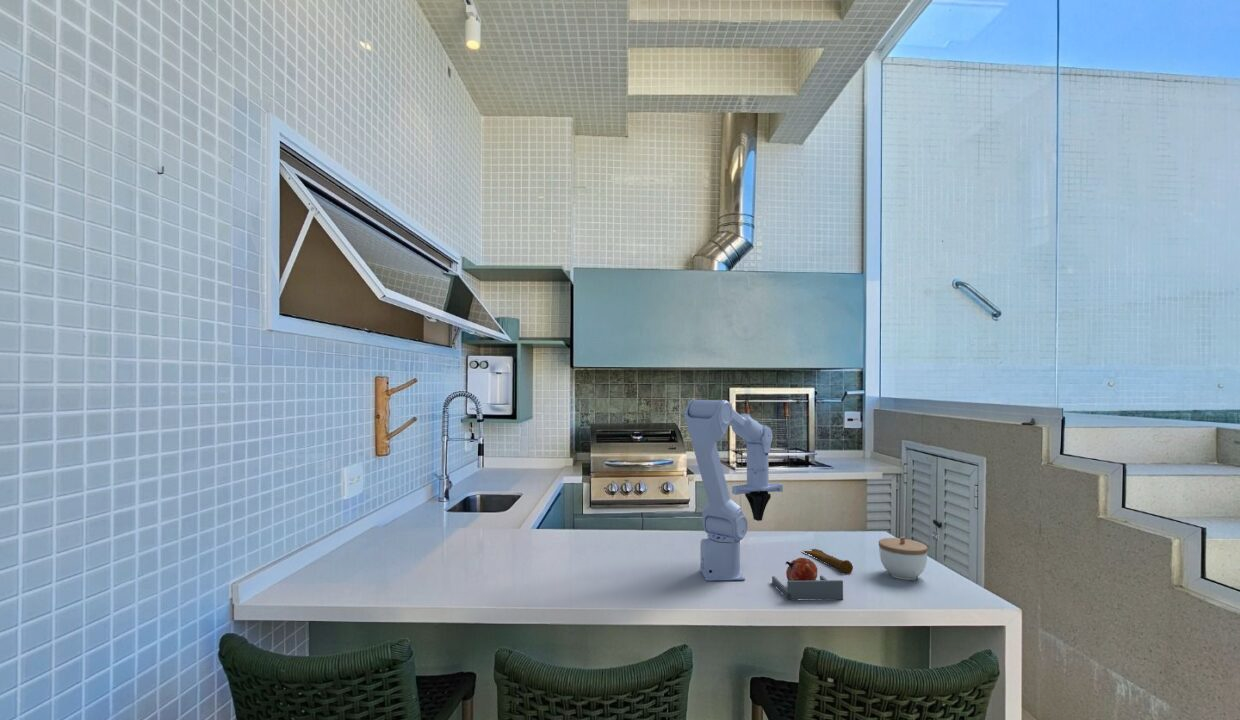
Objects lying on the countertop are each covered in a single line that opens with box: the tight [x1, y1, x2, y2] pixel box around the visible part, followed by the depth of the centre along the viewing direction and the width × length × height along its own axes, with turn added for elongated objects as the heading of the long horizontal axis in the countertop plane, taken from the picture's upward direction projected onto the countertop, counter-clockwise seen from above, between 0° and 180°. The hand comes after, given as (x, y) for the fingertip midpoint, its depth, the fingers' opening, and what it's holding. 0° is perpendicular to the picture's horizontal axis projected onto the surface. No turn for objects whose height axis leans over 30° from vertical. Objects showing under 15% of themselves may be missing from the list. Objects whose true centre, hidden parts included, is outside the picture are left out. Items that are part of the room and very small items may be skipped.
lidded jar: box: [878, 536, 928, 581], centre depth 136 cm, size 11×11×9 cm
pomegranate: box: [785, 557, 818, 581], centre depth 126 cm, size 7×7×10 cm
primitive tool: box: [803, 548, 854, 574], centre depth 146 cm, size 19×6×4 cm, turn 13°
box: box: [771, 575, 844, 601], centre depth 125 cm, size 12×11×4 cm
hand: (757, 519), depth 148 cm, fingers closed
